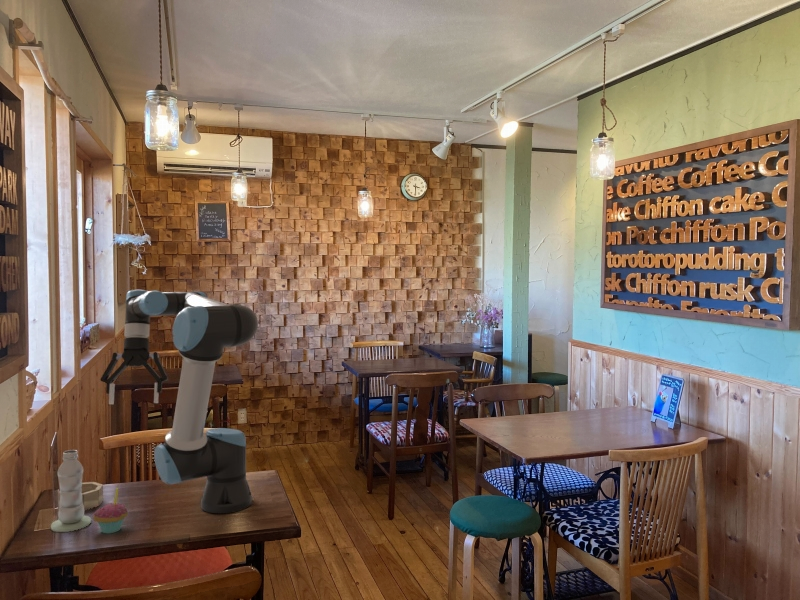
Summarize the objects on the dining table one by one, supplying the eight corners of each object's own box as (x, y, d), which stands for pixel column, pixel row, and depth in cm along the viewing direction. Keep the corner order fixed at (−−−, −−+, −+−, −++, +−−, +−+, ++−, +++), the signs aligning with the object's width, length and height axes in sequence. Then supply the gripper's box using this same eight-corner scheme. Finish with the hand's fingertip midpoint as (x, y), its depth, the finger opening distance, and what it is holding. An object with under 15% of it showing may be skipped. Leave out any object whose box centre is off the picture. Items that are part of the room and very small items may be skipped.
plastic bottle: (90, 518, 176) (89, 449, 175) (71, 528, 170) (70, 456, 169) (71, 516, 178) (70, 447, 177) (52, 525, 171) (51, 454, 171)
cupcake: (119, 521, 176) (118, 480, 176) (133, 529, 171) (133, 486, 170) (88, 531, 169) (87, 488, 169) (102, 539, 164) (102, 495, 164)
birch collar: (109, 502, 191) (109, 486, 191) (72, 514, 181) (72, 497, 181) (88, 495, 197) (88, 480, 197) (52, 506, 188) (52, 490, 187)
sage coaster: (98, 523, 175) (98, 520, 175) (62, 535, 167) (62, 532, 167) (79, 515, 181) (79, 512, 181) (43, 526, 172) (43, 524, 172)
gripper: (178, 338, 207) (176, 402, 203) (99, 339, 203) (96, 404, 199) (174, 336, 199) (171, 402, 196) (92, 336, 195) (88, 404, 192)
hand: (133, 403), depth 197 cm, fingers open, 13 cm apart
